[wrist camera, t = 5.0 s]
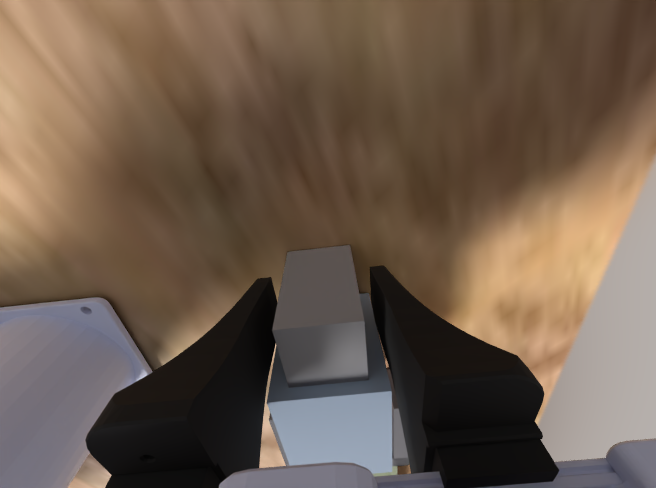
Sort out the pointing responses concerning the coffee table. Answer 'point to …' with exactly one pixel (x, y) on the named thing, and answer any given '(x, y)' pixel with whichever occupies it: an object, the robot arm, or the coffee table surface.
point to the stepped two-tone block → (329, 366)
